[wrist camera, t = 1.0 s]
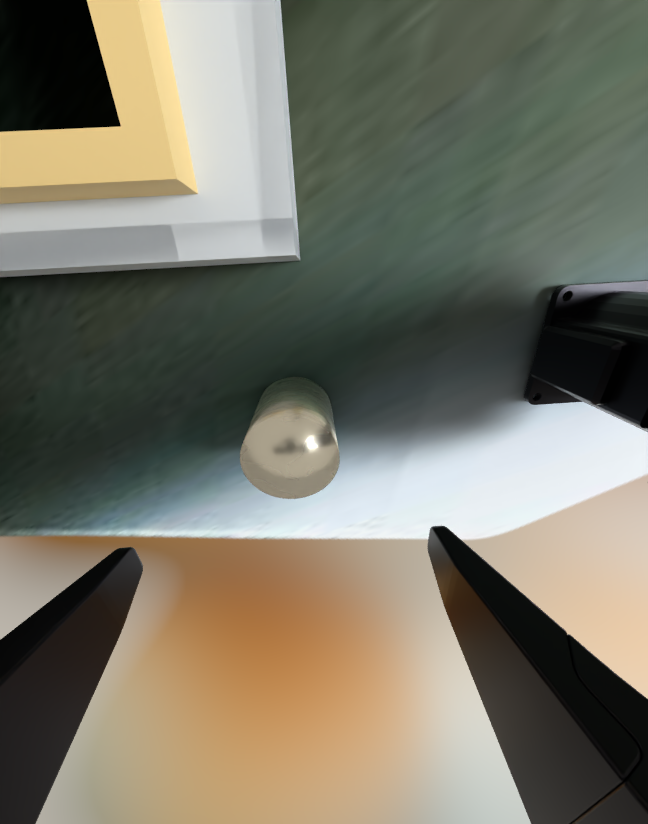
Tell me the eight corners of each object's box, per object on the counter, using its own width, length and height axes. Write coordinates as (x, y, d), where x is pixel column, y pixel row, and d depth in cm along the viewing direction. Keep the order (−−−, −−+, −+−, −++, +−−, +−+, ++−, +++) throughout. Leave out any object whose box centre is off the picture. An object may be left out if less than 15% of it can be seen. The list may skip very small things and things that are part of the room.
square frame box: (264, -202, 8) (163, -1287, 3) (300, 260, 14) (293, 252, 8) (-231, -191, 8) (-1609, -1374, 2) (1, 277, 13) (-236, 280, 8)
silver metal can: (330, 374, 16) (338, 413, 12) (333, 440, 18) (340, 495, 14) (252, 379, 16) (231, 420, 12) (263, 444, 18) (248, 502, 14)
